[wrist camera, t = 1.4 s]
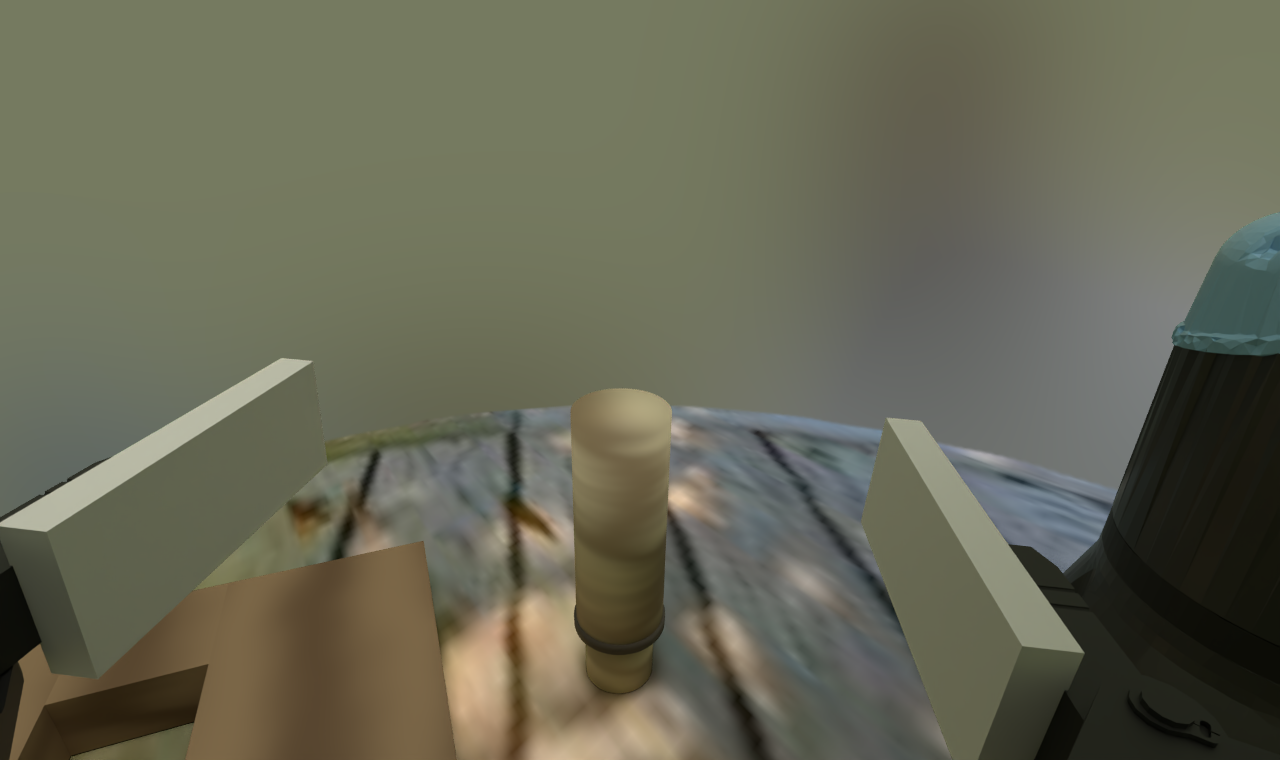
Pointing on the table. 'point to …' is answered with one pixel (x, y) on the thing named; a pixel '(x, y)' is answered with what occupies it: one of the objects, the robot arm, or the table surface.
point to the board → (267, 672)
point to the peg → (620, 531)
